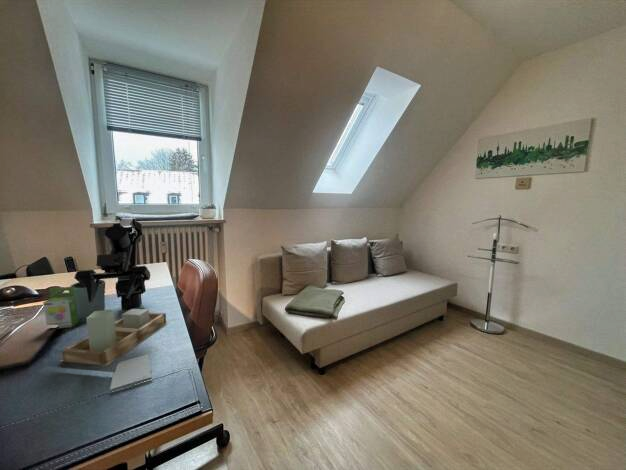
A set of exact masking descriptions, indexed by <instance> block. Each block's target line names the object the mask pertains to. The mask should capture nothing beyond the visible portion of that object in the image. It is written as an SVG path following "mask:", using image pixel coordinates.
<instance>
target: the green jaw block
mask: <svg viewBox="0 0 626 470" xmlns="http://www.w3.org/2000/svg"><path fill="white" fill-rule="evenodd" d="M114 315H115V314H114V309H105V310H103V311H94V312H93V313H92V314H91V315H90V316H88V317H87V318H85V320H86V327H87V328H86V329H87V337H88V338H89V347H90V351H100V352H103V351H105V350H106V349H108V348H109V347H111V346H113V345H114V344H116V333H115V322H116V321H115V316H114Z"/></svg>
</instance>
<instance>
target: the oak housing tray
mask: <svg viewBox="0 0 626 470" xmlns="http://www.w3.org/2000/svg"><path fill="white" fill-rule="evenodd" d="M166 314H167V313H164V312H150V311H149V320H150V322H149V323H147V324H145V325H144V326H142V327H141V328H139V329H133V328H124V325H123V317H121V318H119V319H118V320H115V321H114V322H115V333H116V344H114V345H113V346H111V347H109V348H108V349H106V350H105V351H103V352H100V351H90V347H89V338H88V336H86V337H84V338H82V339H81V340H79V341H76V342H75V343H73V344H72V345H70V346H68V347H66V348H64V349H63V350H61V357H62V358H61V360H59V362H64V363H65V362H66V363H67V362H68V363H78V364H89V365H99V366H100V365H101V366H108V365H110V364H112V363H113V362H115V361H116V360H117V359H118V358H120V357H121V356H123V355H124V354H125V353H127V352H128V351H130V350H132V349H133V348H134V347H135V346H137V345H138V344H140V343H141V342H142V341H144V340H146V339H147V338H148V337H149V336H151V335H152V334H154V333H156V332H157V331H158V330H159V329H161V328H162V327H164V326H165V325H166V324H168V323H169V321H168V320H167V315H166Z"/></svg>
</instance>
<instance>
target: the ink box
mask: <svg viewBox="0 0 626 470" xmlns="http://www.w3.org/2000/svg"><path fill="white" fill-rule="evenodd" d="M49 291H50V292H49V293H50V298H49V299H47V300H45V301H43V302H42V306H43V311H44V317H45V323H46V326H47V325H58V326H59V328H58V329H66V328H73V327H75V325H77V324H78V323H79V318H78V314H77V306H76V299H75V294H74V287H70V286H65V287H50V288H49ZM59 291H68V292H59Z"/></svg>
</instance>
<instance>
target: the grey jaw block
mask: <svg viewBox="0 0 626 470" xmlns="http://www.w3.org/2000/svg"><path fill="white" fill-rule="evenodd" d="M149 312H150V311H149V309H144V308H134V309H130V310H126V312H124V313H122V318H123V325H124V328H133V329H139V328H141V327H142V326H144V325H145V324H147V323H149V322H150V320H149Z"/></svg>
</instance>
